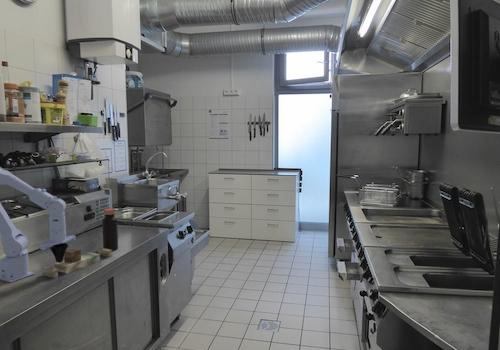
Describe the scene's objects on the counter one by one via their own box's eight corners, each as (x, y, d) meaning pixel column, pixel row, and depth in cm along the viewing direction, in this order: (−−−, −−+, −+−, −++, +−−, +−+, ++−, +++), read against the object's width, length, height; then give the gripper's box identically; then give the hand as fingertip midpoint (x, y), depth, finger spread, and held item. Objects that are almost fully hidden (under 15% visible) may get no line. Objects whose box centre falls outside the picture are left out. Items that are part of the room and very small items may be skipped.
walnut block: (71, 263, 146) (71, 252, 146) (64, 261, 148) (63, 251, 148) (81, 259, 150) (80, 249, 150) (73, 258, 152) (73, 248, 152)
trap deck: (54, 278, 138) (54, 270, 138) (42, 275, 141) (42, 267, 141) (112, 256, 164) (112, 249, 164) (101, 253, 167) (101, 247, 167)
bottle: (113, 251, 170) (111, 211, 168) (100, 250, 172) (98, 210, 170) (120, 247, 177) (119, 208, 175) (108, 246, 178) (107, 207, 176)
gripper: (47, 234, 134) (49, 269, 136) (80, 226, 147) (81, 258, 149) (35, 232, 137) (37, 266, 139) (68, 224, 150) (70, 255, 152)
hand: (59, 261), depth 144 cm, fingers closed
